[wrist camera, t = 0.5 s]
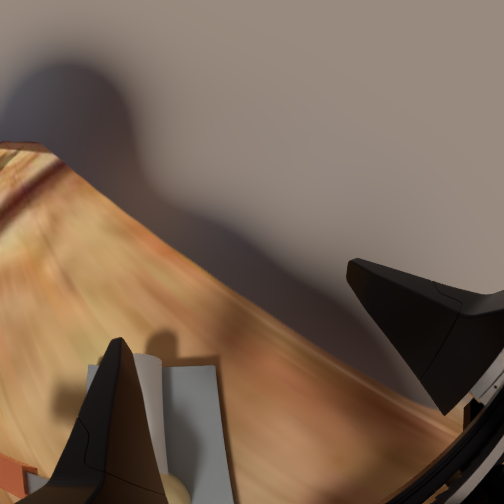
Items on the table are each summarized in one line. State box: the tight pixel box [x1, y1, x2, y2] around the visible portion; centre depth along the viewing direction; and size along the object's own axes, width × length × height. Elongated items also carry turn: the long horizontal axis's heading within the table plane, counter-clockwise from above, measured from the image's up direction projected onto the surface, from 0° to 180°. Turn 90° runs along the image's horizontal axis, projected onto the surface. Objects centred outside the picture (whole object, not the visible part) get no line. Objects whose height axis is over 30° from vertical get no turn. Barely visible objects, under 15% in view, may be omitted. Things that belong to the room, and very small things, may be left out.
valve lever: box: [0, 453, 50, 499], centre depth 7 cm, size 14×3×2 cm, turn 98°
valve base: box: [86, 354, 234, 504], centre depth 13 cm, size 20×12×8 cm, turn 8°
